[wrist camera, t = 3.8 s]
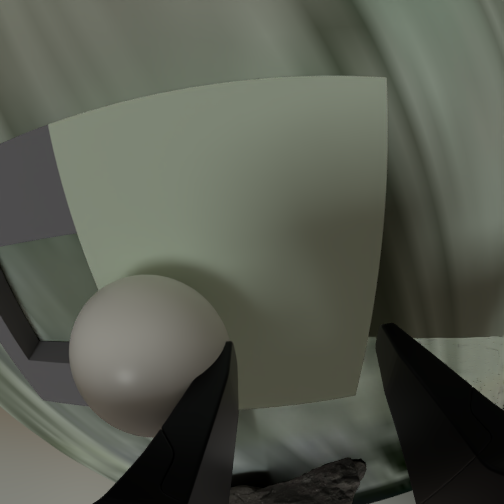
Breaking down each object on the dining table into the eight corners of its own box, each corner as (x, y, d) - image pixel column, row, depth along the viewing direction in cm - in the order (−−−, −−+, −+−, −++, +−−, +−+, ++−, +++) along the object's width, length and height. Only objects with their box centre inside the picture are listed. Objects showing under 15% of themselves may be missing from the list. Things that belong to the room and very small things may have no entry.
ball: (250, 255, 9) (128, 400, 5) (265, 373, 11) (196, 488, 7) (122, 236, 11) (12, 320, 7) (158, 338, 13) (84, 421, 9)
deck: (367, 76, 9) (386, 77, 7) (348, 373, 16) (355, 395, 14) (-53, 170, 9) (-73, 181, 8) (50, 382, 16) (43, 399, 15)
